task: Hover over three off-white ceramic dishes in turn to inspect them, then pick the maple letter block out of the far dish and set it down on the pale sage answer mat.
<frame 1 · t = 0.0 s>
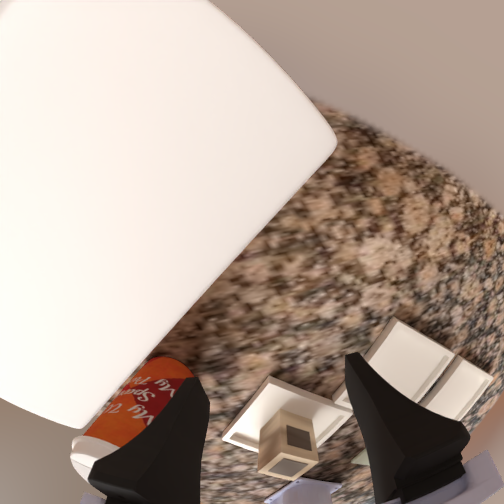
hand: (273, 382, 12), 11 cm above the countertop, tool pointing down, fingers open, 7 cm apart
dish b: (396, 374, 23), on the countertop
dish a: (451, 396, 24), on the countertop
letter block: (285, 425, 24), resting on dish c
paper cup: (169, 377, 25), on the countertop
milk: (223, 197, 21), on the countertop
dish c: (285, 423, 25), on the countertop
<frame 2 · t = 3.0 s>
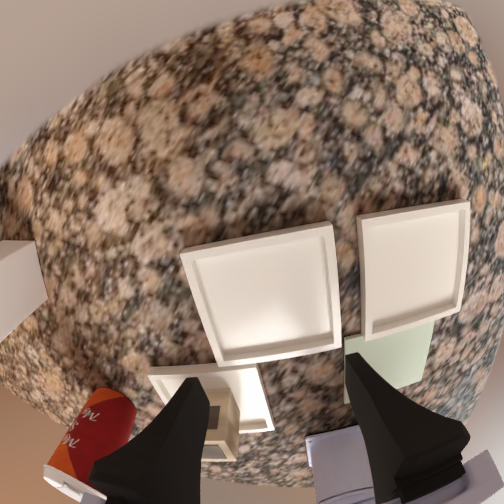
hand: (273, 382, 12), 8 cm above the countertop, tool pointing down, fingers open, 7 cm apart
dish b: (268, 299, 20), on the countertop
dish a: (415, 267, 19), on the countertop
letter block: (215, 402, 24), resting on dish c
answer mat: (388, 361, 22), on the countertop
paper cup: (115, 401, 26), on the countertop
milk: (25, 267, 20), on the countertop
dish c: (216, 399, 24), on the countertop
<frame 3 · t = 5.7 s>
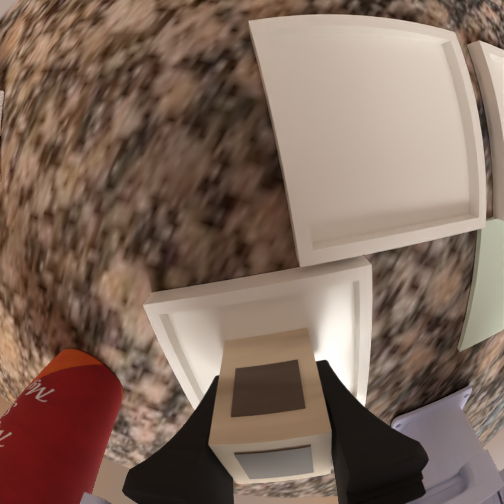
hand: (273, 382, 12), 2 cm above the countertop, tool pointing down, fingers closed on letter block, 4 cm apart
dish b: (387, 126, 10), on the countertop
letter block: (272, 364, 13), resting on dish c, touching gripper
paper cup: (90, 377, 15), on the countertop
dish c: (272, 359, 14), on the countertop
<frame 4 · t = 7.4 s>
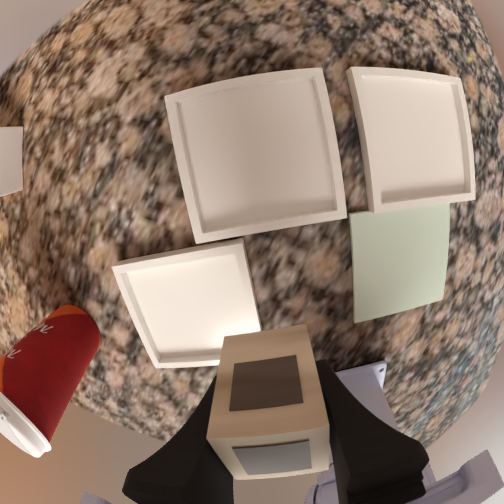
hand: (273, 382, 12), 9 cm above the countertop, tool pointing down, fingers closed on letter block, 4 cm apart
dish b: (257, 152, 17), on the countertop
dish a: (418, 137, 16), on the countertop
letter block: (271, 360, 14), point 7 cm above the countertop, touching gripper
answer mat: (403, 261, 19), on the countertop
paper cup: (79, 327, 23), on the countertop
milk: (7, 161, 17), on the countertop
dish c: (193, 309, 21), on the countertop
when the fingers open (3 cm above the countertop, at t = 9.5 s): letter block drops 1 cm, resting on answer mat.
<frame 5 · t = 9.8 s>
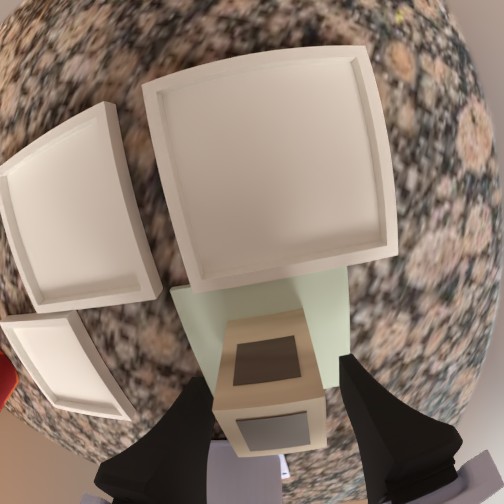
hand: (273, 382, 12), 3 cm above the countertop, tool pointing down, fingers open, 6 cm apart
dish b: (65, 221, 13), on the countertop
dish a: (277, 163, 12), on the countertop
letter block: (271, 344, 15), resting on answer mat
answer mat: (271, 343, 15), on the countertop
paper cup: (4, 362, 19), on the countertop
dish c: (63, 364, 17), on the countertop
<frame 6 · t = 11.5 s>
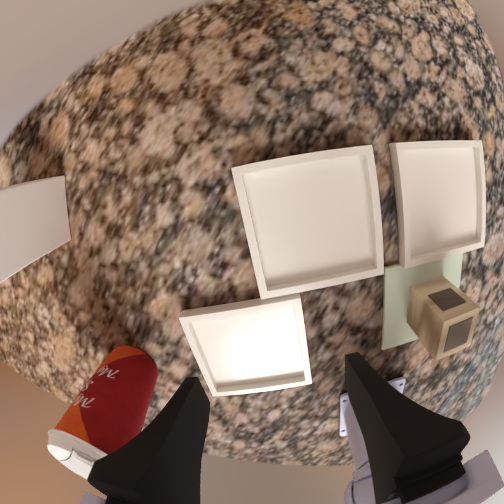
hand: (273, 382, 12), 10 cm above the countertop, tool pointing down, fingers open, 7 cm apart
dish b: (313, 220, 20), on the countertop
dish a: (442, 198, 19), on the countertop
letter block: (425, 299, 22), resting on answer mat
answer mat: (423, 299, 22), on the countertop
paper cup: (134, 364, 26), on the countertop
milk: (47, 209, 20), on the countertop
dish c: (251, 347, 24), on the countertop
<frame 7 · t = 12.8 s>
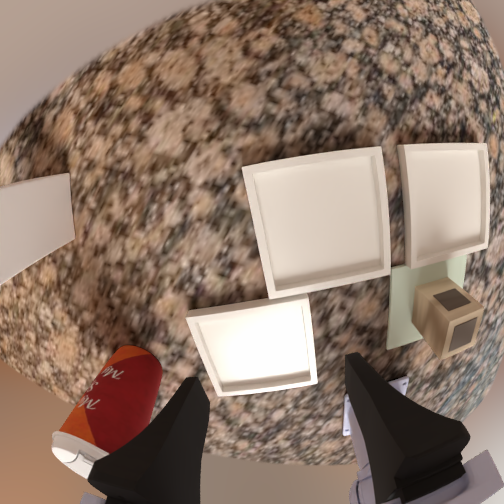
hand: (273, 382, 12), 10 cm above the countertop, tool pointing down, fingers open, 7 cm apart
dish b: (322, 220, 20), on the countertop
dish a: (447, 200, 19), on the countertop
letter block: (430, 300, 22), resting on answer mat
answer mat: (427, 300, 22), on the countertop
paper cup: (138, 364, 26), on the countertop
milk: (51, 207, 20), on the countertop
dish c: (257, 347, 24), on the countertop
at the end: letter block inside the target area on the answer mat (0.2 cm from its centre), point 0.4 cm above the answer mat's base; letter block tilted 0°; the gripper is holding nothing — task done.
